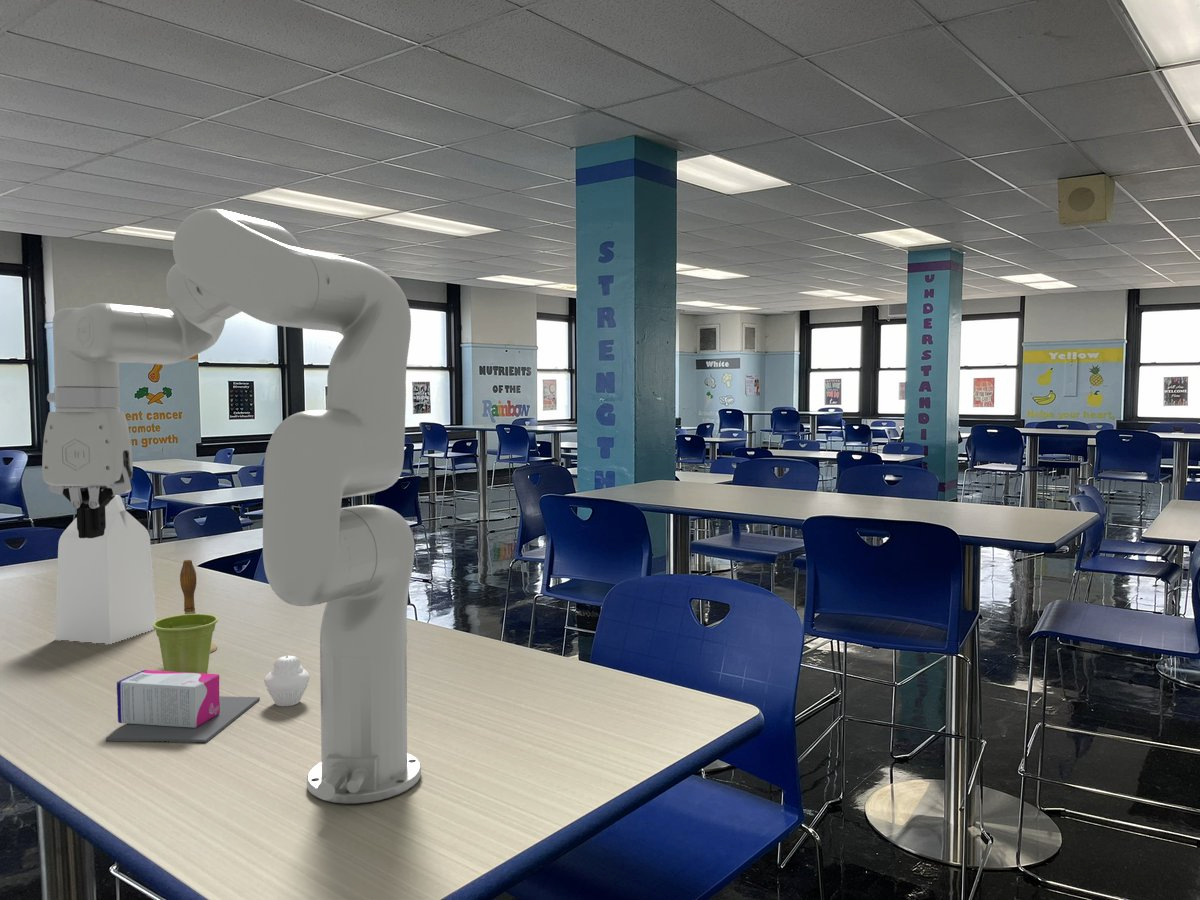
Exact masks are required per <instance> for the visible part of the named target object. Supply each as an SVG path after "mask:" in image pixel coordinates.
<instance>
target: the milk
mask: <svg viewBox="0 0 1200 900" xmlns="http://www.w3.org/2000/svg"><path fill="white" fill-rule="evenodd" d="M105 517H106V528H105V530H104V535H103V536H99V537H95V538H79V533H78V529H77V516H76V517H75V518H74V519H73V520H72V522H70V524H69V525H68V526H67V527H66V529H65V530H64V531H63V532H62V534H61V535H60V537H59V539H58V544H57V545H58V549H57V573H56V599H55V600H56V601H55V602H56V603H55V632H54V636H55V637H54V640H55V641H61V640H69V641H68V642H73V641H81V642H80V643H84V642H92V643H91V644H96V643H105V644H104V645H108V644H111V645H113V644H112V643H114V644H116V643H115V642H117V643H119V642H118V641H120V642H122V641H121V640H123V641H125V640H128V639H131V638H133V636H134V637H137V636H140V635H142V634H141V633H143V634H145V632H146V633H149V632H151V630H152V631H154V628H153V623H154V622H156V621H157V619H158V617H157V615H158V614H157V607H156V605H157V604H156V596H155V595H156V593H155V591H156V590H155V582H154V581H155V580H154V571H153V569H154V568H153V560H152V559H153V558H152V557H153V556H152V548H151V547H152V546H151V536H150V533H149V531H148V530H147V528H146V527H145V526H144V525H143V524H142V523H141V522H140V521H139V520H137V519H136V518H135V517H134V516H133V515H132V514H131V513H130V512H128V511H127V510H126V507H125V505H124V502H123V500H122V497H121V495H116V496H115V497H114V498H113V499H112V500H111V501H110V503H109V505H108V506H105ZM148 631H149V632H148ZM139 634H140V635H139ZM136 635H137V636H136ZM130 637H131V638H130ZM127 638H128V639H127ZM124 639H125V640H124Z"/></svg>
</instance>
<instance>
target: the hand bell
mask: <svg viewBox="0 0 1200 900" xmlns="http://www.w3.org/2000/svg"><path fill="white" fill-rule="evenodd" d="M179 584H180V589H181V591H182V593H183V603H184V604H183V607H184V608H183V611H184V615H185V614H196V608H195V592H196V588H197V572H196V569H195V567H194V564H193V561H192V560H191V559H186V560H185V559H184V560H183V563H182V567H181V570H180V574H179ZM217 649H218V646H217V644H216V643H215V642H214V641H213V640H212V641H211V648H210V654H211V653H213V652H215V651H216V650H217Z"/></svg>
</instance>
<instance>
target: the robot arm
mask: <svg viewBox="0 0 1200 900" xmlns="http://www.w3.org/2000/svg"><path fill="white" fill-rule="evenodd" d="M172 255H173V259H174V262H175V264H174V265H172V266H171V267H170V269H169V271H168V273H167V275H166V282H165V284H166V285H165V287H166V291H167V295H168V298H169V300H170V302H171V304H172V306H173V307H172V308H167V309H166V308H165V309H164V308H156V307H148V306H140V305H131V304H129V305H128V304H120V303H119V304H118V303H112V302H111V303H110V302H98V303H97V302H96V303H92V304H89V305H86V306H84V307H66V308H61V309H58V310H57V311H55V312H54V315H53V316H52V341H53V342H52V343H53V347H52V349H53V368H54V369H53V373H54V375H53V376H54V377H53V378H54V388H53V392H48V393H47V396H46V401H48V402H49V403H51V404H52V403H53V404H54V409H55V411H49V412H48V414H47V419H46V424H45V426H44V427H45V428H44V434H43V443H42V456H41V457H42V460H41V461H42V465H41V466H42V467H41V468H42V469H41V470H42V472H41V473H42V479H43V481H44V483H46V484H47V485H49V486H48V491H49V492H50V493H52V494H54V495H55V494H56V495H60V496H64V497H65V498H66V499H67V500H68V501H69V502H70V503H71V507H72V508H73V509H76V517H77V529H78V533H79V538H95V537H99V536H103V535H104V530H105V528H106V517H105V506H108V505H109V503H110V501H111V500H112V499H113V498H114V497H115V496H116V495H119V496H121V495H123V494H124V495H125V494H126V493H127V494H128V493H130V492H132V485H131V480H132V478H133V472H134V471H133V470H134V469H133V467H134V465H133V464H134V462H133V450H132V442H131V436H130V429H129V425H128V420H127V417H126V415H125V411H121V408H120V407H121V406H120V405H121V403H120V401H121V400H120V399H121V398H120V394H121V393H120V363H121V364H122V363H123V364H124V363H125V364H132V363H134V364H148V365H174V364H177V363H180V362H184V361H187V360H189V359H190V358H193V357H195V356H196V355H199V354H201V353H203V352H205V351H207V350H208V349H210V348H211V347H213V346H214V345H215V344H216V343H217V342H218V340H219V339H220V337H221V335H222V333H223V330H224V328H225V325H226V320H228V319H230V318H232V317H234V316H236V315H237V314H240V313H241V312H242V313H244V314H246V315H248V316H250V317H251V318H253V319H256V320H258V321H260V322H263V323H266V324H270V325H272V326H273V325H274V326H280V327H285V328H286V327H287V328H295V329H296V328H297V329H306V330H315V331H316V330H317V331H327V332H328V331H329V332H336V333H339V334H340V335H342V337H343V338H342V339H341V340H340V342H339V343H338V344H337V346H336V348H335V350H334V352H333V355H332V357H331V359H330V361H329V366H328V370H327V381H326V382H327V393H326V394H327V395H326V404H325V405H326V406H325V409H312V410H311V409H310V410H304V411H300V412H299V411H298V412H296V413H293V414H292V415H289V416H288V417H286V418H285V419H284V420H283V421H281V422H280V423H279V425H277V426H276V428H275V429H274V431H273V433H272V435H271V437H270V440H269V441H268V443H267V447H266V450H265V454H264V462H263V493H262V497H263V501H262V558H263V559H262V560H263V561H262V562H263V567H264V568H263V569H264V573H265V577H266V579H267V582H268V584H269V587H270V588H271V589H272V591H273V592H274V594H275V595H276V596H277V597H278V598H279V599H280V600H281V601H283V602H285V603H286V604H289V605H291V606H296V607H312V606H316V605H321V604H325V603H326V604H325V607H324V610H323V614H322V618H321V622H320V623H321V624H320V632H319V666H320V671H319V672H320V675H319V678H320V727H321V728H320V735H321V736H320V739H321V740H320V745H321V746H320V747H321V749H320V750H321V761H319V762H318V763H317V764H316V765H315V766H313V767H312V768H311V769H310V771H309V772H308V773H307V776H306V786H307V790H308V791H309V792H310V794H311V795H312V796H314V797H316V798H318V799H320V800H323V801H325V802H330V803H336V804H367V803H373V802H377V801H382V800H386V799H389V798H392V797H395V796H398V795H400V794H403V793H405V792H407V791H408V790H409V789H411V788H412V787H414V786H415V785H416V784H417V783H418V782H419V780H420V778H421V775H422V765H421V762H420V760H419V759H418V758H417V757H415V756H414V755H413V754H410V753H409V752H408V695H407V694H408V689H407V686H408V683H407V682H408V681H407V680H408V679H407V677H408V676H407V675H408V674H407V672H408V670H407V669H408V667H407V666H408V665H407V664H408V663H407V660H408V659H407V642H408V640H407V636H408V635H407V631H408V630H407V627H408V625H407V622H408V620H407V619H408V615H407V614H408V600H409V590H410V586H411V579H412V578H411V577H412V573H413V567H414V563H415V562H414V561H415V539H414V535H413V532H412V530H411V527H410V525H409V524H408V521H406V519H405V518H404V517H403V516H402V515H401V514H400V513H398V512H397V511H396V510H394V509H392V508H389V507H386V506H384V505H378V504H377V505H376V504H362V505H353V506H347V507H342V501H343V500H342V499H343V498H350V497H358V496H364V495H365V496H366V495H370V494H375V493H378V492H382V491H385V490H387V489H389V488H390V487H393V486H394V485H395V483H397V482H398V481H399V479H400V476H401V474H402V471H403V468H404V461H405V440H406V439H405V438H406V437H405V436H406V435H405V434H406V409H407V407H406V403H407V401H406V400H407V389H406V388H407V383H406V382H407V368H408V367H407V365H408V355H409V350H410V349H409V348H410V341H411V332H412V321H411V320H412V317H411V316H412V315H411V310H410V305H409V302H408V300H407V299H408V298H407V297H406V294H405V292H404V291H403V289H402V288H401V286H400V284H398V282H396V280H395V279H393V278H392V277H391V276H390V274H387V273H386V272H384V271H383V270H381V269H379V268H377V267H375V266H373V265H370V264H367V263H365V262H362V261H359V260H356V259H351V258H348V257H343V256H339V255H335V254H330V253H325V252H319V251H315V250H311V249H306V248H301V244H300V243H299V241H298V240H297V238H295V236H294V235H293V234H292V233H291V232H289V230H287V229H285V228H284V227H282V226H280V225H278V224H276V223H274V222H271V221H268V220H265V219H260V218H257V217H252V216H248V215H244V214H240V213H237V212H233V211H228V210H225V209H221V208H220V209H218V208H205V209H201V210H198V211H195V212H193V213H192V214H190V215H188V216H187V217H186V218H184V220H183V221H182V222H181V223H180V225H179V226H178V228H177V230H176V231H175V234H174V237H173V243H172ZM114 484H115V485H114ZM112 485H114V486H112Z"/></svg>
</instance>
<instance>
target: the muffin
mask: <svg viewBox="0 0 1200 900" xmlns="http://www.w3.org/2000/svg"><path fill="white" fill-rule="evenodd" d="M309 681H310V674H309V672H308V671H307V670H306V669H305V668H304V667H303V666H302V665H301V661H300V659H299V658H298V657H297V656H295V655H288V654H287V655H283V656H281V657H278V658H277V659H276V660H275V662H274V663H273V667H272V668H271V670H270V672H269V673H267V675H266V676H265V678H264V685H265V687H266V688H267V689H266V690H267V693H268V694H269V695H270V697H271V698H272V700H273V702H274V704H275V705H276V706H278V707H283V708H284V707H285V706H286V707H292V706H295V705H297V704H299V703H300V702H301V700H302V697H303V695H304V694H305V692H306V690H307V689H308V685H309V684H308V683H309Z"/></svg>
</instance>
